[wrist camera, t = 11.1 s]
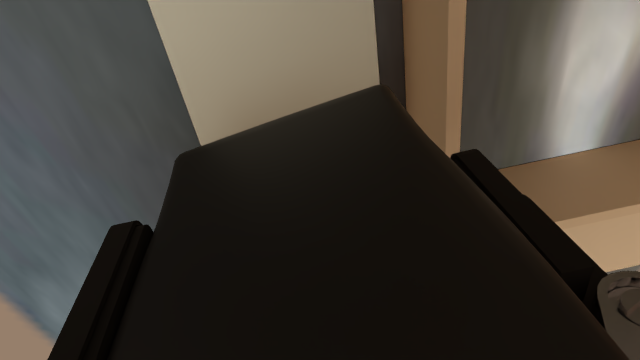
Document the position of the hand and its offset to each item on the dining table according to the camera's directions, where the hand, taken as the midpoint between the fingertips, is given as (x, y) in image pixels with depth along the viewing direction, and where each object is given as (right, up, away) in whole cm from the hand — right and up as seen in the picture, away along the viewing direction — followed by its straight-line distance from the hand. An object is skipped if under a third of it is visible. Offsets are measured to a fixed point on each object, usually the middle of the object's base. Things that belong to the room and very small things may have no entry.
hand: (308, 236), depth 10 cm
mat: (-1, +6, +9) cm, 11 cm away
